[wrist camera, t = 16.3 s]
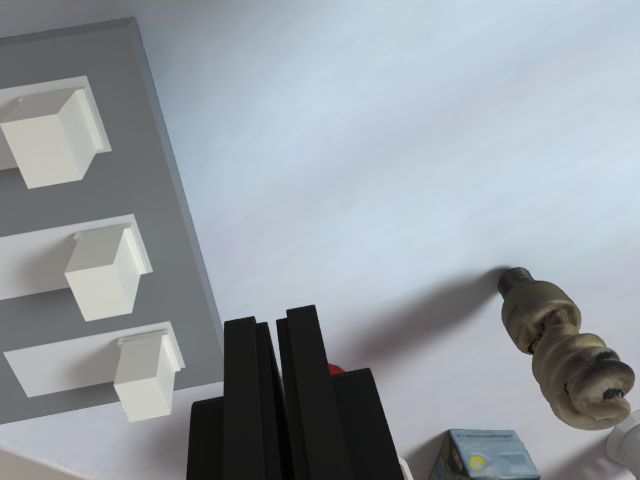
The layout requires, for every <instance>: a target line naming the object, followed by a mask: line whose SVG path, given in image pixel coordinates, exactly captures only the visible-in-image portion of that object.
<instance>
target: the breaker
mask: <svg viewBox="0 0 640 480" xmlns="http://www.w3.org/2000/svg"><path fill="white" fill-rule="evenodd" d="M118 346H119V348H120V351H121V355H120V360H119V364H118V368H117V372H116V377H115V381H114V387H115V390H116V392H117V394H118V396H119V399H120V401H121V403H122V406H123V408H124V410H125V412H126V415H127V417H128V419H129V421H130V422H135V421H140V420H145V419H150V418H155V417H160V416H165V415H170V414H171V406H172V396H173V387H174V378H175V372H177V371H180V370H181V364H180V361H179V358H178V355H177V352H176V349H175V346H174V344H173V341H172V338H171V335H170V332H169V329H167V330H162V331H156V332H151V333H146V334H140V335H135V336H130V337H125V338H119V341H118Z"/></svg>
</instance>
